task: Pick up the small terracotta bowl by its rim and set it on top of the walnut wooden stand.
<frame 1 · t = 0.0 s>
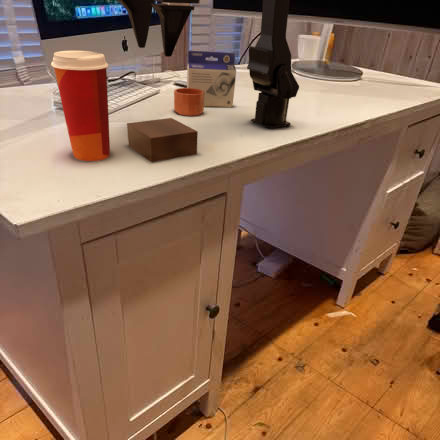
hand: (154, 51, 69), 15 cm above the table, tool pointing down, fingers open, 9 cm apart
coffee cup: (91, 156, 71), on the table
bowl: (188, 112, 96), on the table
ink box: (210, 106, 102), on the table
stand: (162, 150, 74), on the table
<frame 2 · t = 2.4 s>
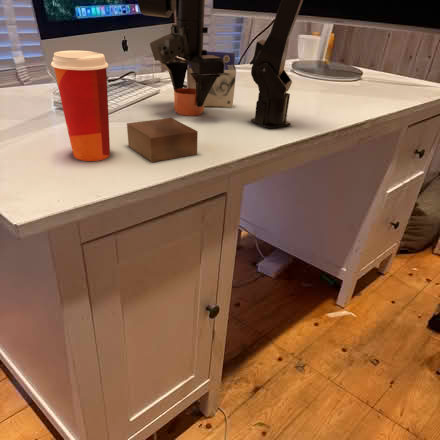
hand: (188, 101, 94), 2 cm above the table, tool pointing down, fingers open, 9 cm apart
ink box: (210, 106, 102), on the table, touching gripper
everything else where it was.
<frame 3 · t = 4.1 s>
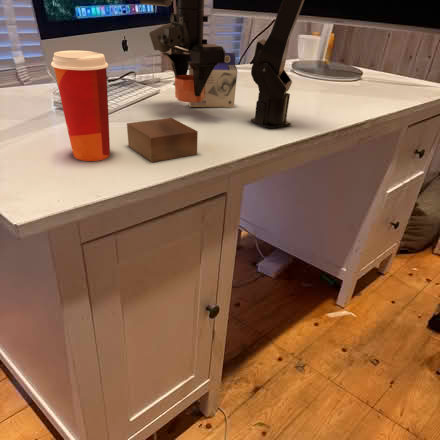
hand: (188, 92, 93), 4 cm above the table, tool pointing down, fingers closed on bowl, 7 cm apart
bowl: (190, 99, 94), point 3 cm above the table, touching gripper
ink box: (211, 107, 101), on the table
everything else where it was.
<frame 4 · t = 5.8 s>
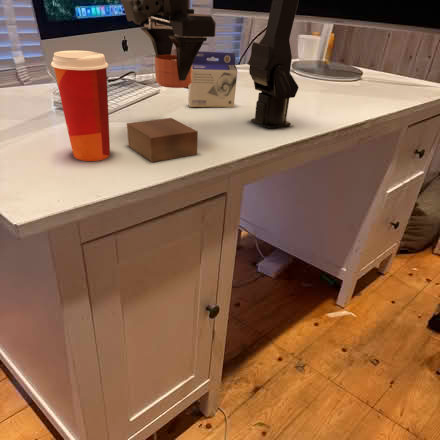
hand: (172, 76, 76), 10 cm above the table, tool pointing down, fingers closed on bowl, 7 cm apart
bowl: (174, 84, 77), point 9 cm above the table, touching gripper
everything else where it was.
when the fingers open (5 cm above the table, at t = 8.3 s): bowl stays where it is, resting on stand.
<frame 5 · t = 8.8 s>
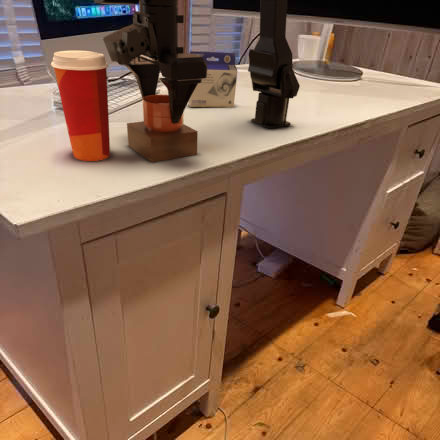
hand: (161, 116, 71), 6 cm above the table, tool pointing down, fingers open, 9 cm apart
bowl: (163, 126, 72), point 4 cm above the table, touching stand
everything else where it was.
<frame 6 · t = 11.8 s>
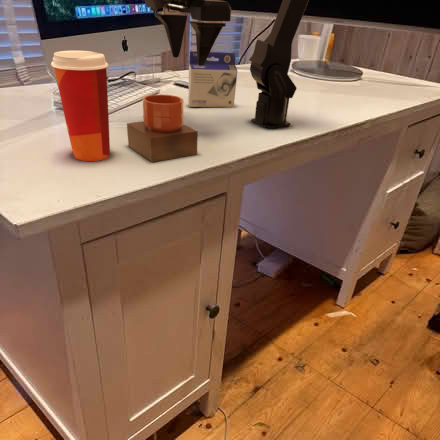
hand: (187, 61, 80), 12 cm above the table, tool pointing down, fingers open, 9 cm apart
nothing on the table moved.
at the end: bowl 0.3 cm off-centre on the stand, point 4.0 cm above the stand's base; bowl tilted 0°; the gripper is holding nothing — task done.
